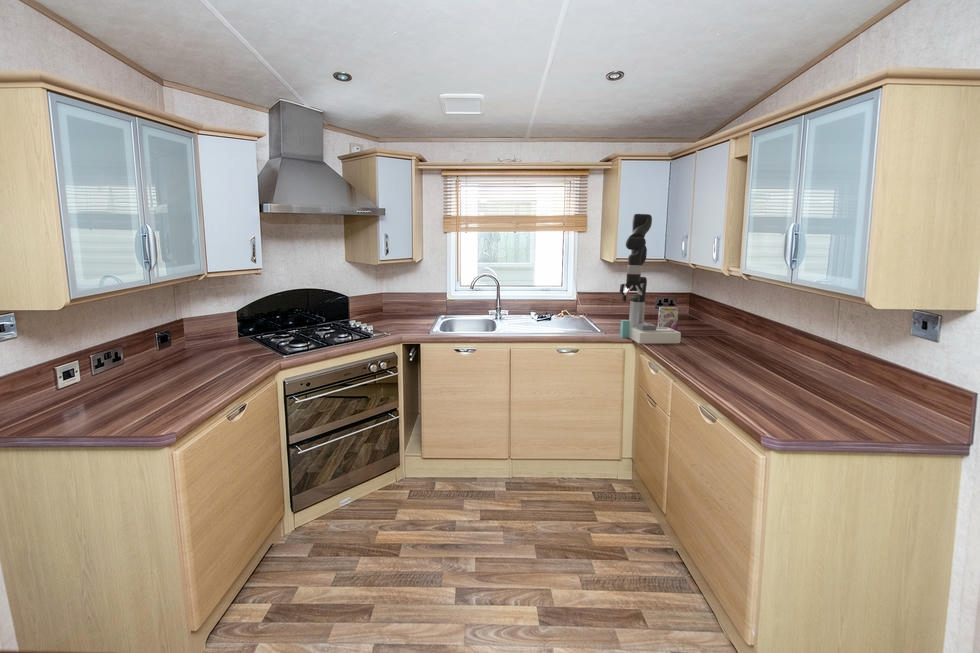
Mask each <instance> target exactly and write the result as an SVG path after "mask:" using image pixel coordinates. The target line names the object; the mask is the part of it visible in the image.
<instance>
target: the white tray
mask: <svg viewBox="0 0 980 653" xmlns="http://www.w3.org/2000/svg"><path fill="white" fill-rule="evenodd" d="M681 337H682V332H680V331H678V330H677V331H675V330H674V329H671V328H667V327H657V326H656V330H642V331H641V330H639V329H637V327H635V328H630V327H629V338H628V339H631V340H632V341H633V342H635V343H638V344H640V345H641V344H680V343H681Z"/></svg>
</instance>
